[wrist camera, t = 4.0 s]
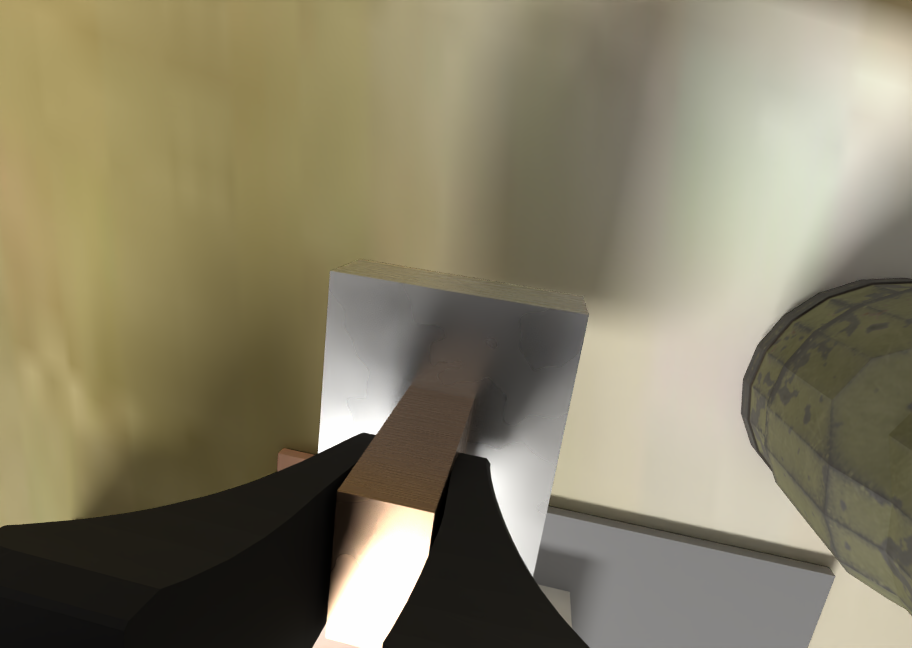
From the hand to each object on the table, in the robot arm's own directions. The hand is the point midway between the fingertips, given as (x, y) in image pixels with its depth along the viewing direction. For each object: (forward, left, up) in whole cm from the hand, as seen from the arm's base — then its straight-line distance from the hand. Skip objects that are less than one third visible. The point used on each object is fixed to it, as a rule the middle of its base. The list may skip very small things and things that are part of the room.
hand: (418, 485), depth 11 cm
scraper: (0, 0, -3) cm, 4 cm away
